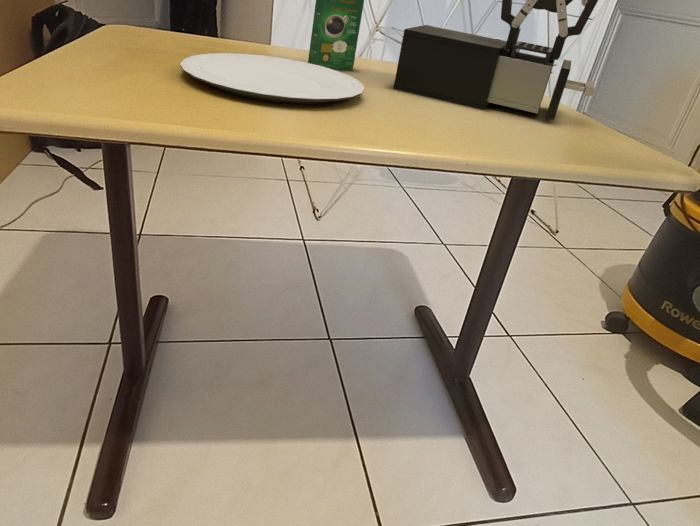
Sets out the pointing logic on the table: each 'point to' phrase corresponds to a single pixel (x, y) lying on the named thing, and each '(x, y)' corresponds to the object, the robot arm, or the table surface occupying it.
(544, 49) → the box
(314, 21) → the coffee box
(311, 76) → the plate
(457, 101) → the black drawer box
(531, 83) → the grey box with handle
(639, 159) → the table surface
